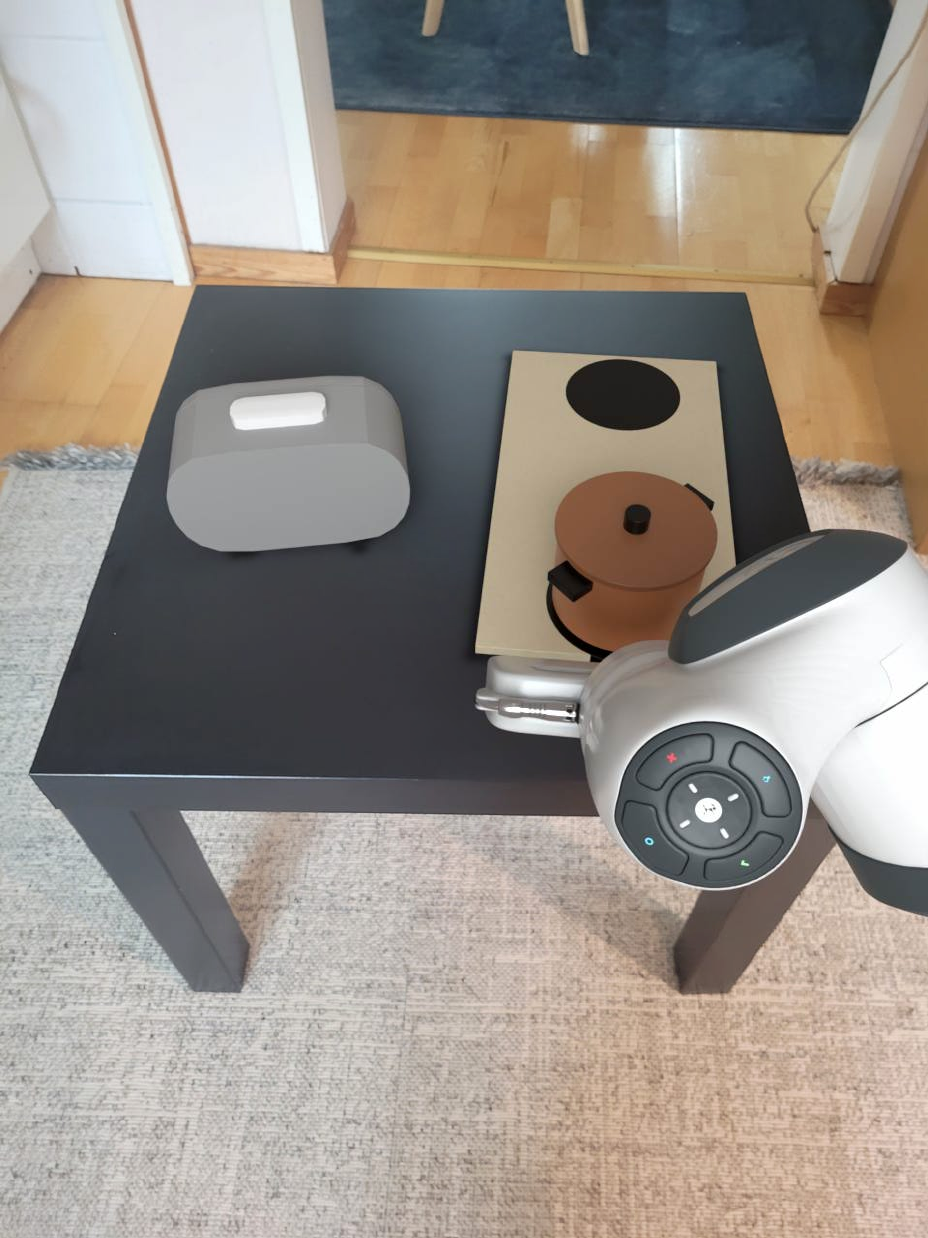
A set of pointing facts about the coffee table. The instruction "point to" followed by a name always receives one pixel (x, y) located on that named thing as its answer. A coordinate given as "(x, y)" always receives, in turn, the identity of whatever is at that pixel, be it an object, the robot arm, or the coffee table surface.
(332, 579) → the coffee table surface
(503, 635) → the hob
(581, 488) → the pot
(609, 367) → the burner
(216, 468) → the alarm clock
